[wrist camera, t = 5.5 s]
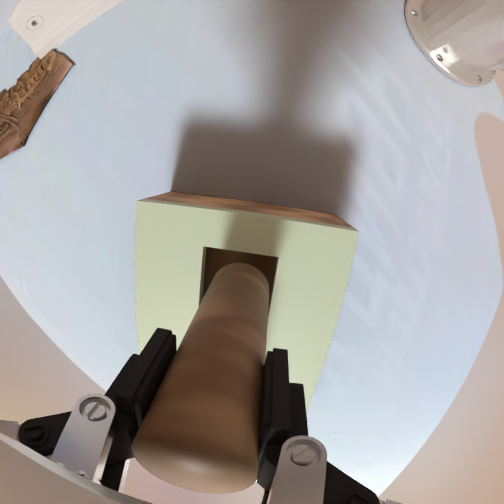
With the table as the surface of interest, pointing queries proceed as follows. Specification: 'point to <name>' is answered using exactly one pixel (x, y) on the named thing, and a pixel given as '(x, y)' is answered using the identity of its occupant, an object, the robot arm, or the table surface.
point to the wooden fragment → (29, 99)
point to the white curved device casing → (54, 20)
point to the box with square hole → (262, 262)
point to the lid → (250, 241)
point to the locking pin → (212, 391)
